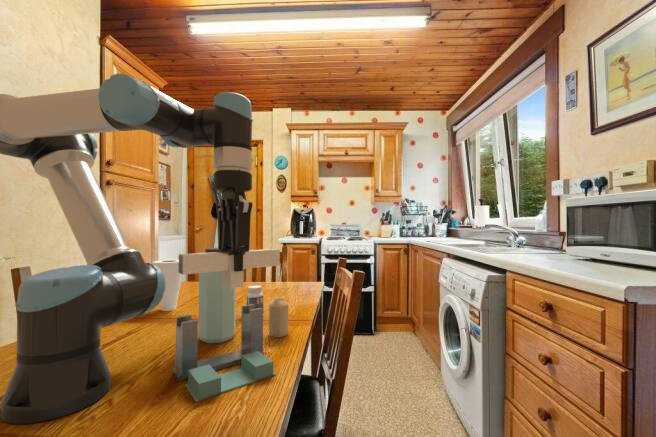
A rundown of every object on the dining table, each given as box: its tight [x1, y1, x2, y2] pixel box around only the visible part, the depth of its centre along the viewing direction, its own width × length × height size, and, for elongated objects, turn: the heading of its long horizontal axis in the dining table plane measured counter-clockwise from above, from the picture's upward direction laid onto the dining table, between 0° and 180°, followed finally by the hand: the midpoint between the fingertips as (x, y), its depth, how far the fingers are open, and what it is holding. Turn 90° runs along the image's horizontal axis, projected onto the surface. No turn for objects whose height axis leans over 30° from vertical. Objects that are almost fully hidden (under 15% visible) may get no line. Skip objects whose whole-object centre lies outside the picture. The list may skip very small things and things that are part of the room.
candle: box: [268, 298, 289, 338], centre depth 91 cm, size 6×6×10 cm
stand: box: [172, 304, 265, 382], centre depth 71 cm, size 19×6×12 cm, turn 128°
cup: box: [152, 259, 183, 312], centre depth 118 cm, size 11×11×18 cm
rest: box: [185, 351, 276, 403], centre depth 64 cm, size 16×7×3 cm, turn 128°
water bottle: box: [198, 247, 236, 344], centre depth 88 cm, size 10×10×25 cm
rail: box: [178, 248, 281, 276], centre depth 64 cm, size 20×3×4 cm, turn 128°
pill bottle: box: [246, 285, 264, 309], centre depth 110 cm, size 6×6×10 cm
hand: (232, 285), depth 64 cm, fingers closed on rail, 3 cm apart
